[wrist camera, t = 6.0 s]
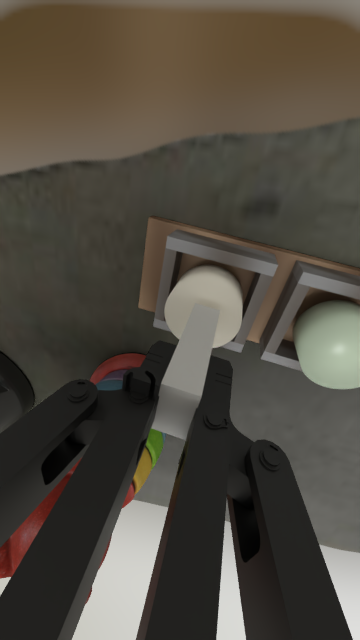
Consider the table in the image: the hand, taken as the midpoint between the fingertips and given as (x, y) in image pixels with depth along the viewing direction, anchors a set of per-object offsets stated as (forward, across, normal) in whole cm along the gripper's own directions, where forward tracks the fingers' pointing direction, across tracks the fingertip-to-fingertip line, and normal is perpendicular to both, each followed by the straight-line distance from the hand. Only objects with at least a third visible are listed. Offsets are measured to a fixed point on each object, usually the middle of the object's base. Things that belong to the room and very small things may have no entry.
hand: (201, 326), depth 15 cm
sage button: (+4, +9, 0) cm, 10 cm away
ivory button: (+4, 0, 0) cm, 4 cm away
